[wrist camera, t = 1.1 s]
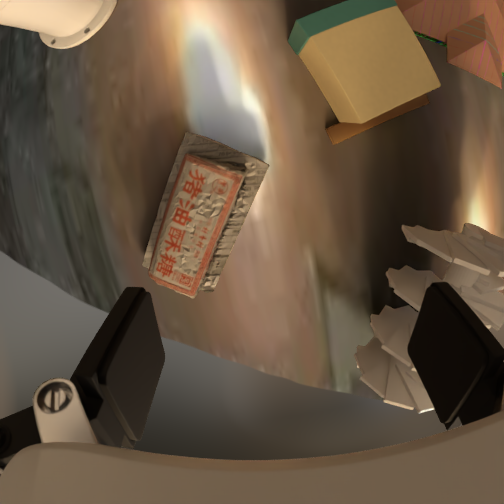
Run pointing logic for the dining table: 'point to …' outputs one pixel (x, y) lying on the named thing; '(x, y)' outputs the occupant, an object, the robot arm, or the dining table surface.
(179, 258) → the packaged product
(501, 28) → the house
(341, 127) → the oak strip
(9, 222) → the dining table surface
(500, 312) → the spiral staircase
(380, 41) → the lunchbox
